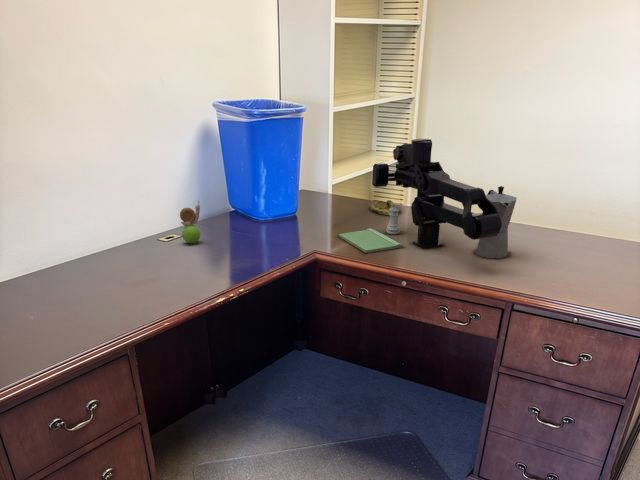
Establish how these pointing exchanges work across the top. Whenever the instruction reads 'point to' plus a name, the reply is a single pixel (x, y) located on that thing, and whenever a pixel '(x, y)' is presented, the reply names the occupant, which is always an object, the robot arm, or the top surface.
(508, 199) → the coffeepot
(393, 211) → the rook chess piece
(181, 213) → the snail figurine
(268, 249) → the top surface
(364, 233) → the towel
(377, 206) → the olive lumpy piece
